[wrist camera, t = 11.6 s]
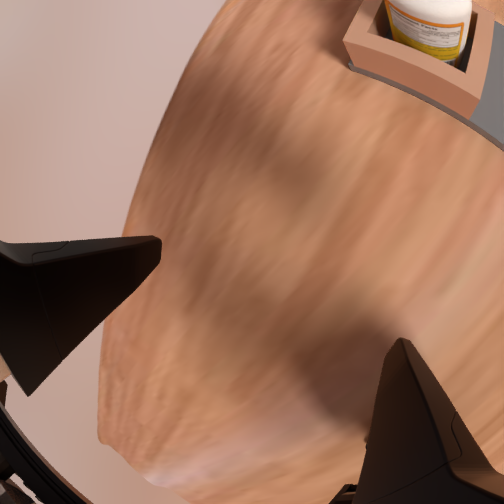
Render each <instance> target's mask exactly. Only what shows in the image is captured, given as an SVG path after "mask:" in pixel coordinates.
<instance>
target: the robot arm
mask: <svg viewBox="0 0 504 504" xmlns="http://www.w3.org/2000/svg"><path fill="white" fill-rule="evenodd" d="M161 250H162V241H161V239H159V238H157V237H155V236H152V235H150V236H133V237H117V238H103V239H88V240H76V241H70V242H69V241H61V242H46V243H6V242H2V241H0V504H36V503H35V502H34V501H33V500H32V498H30V497H29V496H28V495H26V494H25V493H24V492H23V491H22V489H21V488H20V487H19V486H17V484H15V483H14V482H13V481H12V480H11V479H10V477H11V476H12V475H13V474H14V473H15V474H16V475H18V476H19V477H20V478H21V479H22V480H23V481H24V482H23V484H24V485H25V486H26V487H27V488H28V489H30V490H31V491H33V493H35V495H36V496H35V497H36V498H37V499H38V500H39V501H40V502H42V503H44V504H93V503H92V502H91V501H89V500H88V499H87V498H86V497H85V496H83V495H82V494H81V493H80V492H79V491H78V490H77V489H75V488H74V487H73V486H72V485H71V484H70V483H69V482H68V481H67V480H66V479H65V478H63V477H62V476H61V475H60V474H59V473H58V472H57V471H56V470H55V469H54V468H53V467H52V466H51V465H50V464H49V463H48V461H47V460H46V459H45V458H44V457H43V456H42V455H41V454H40V453H39V452H38V450H37V449H36V448H35V447H34V446H33V445H32V443H31V442H30V441H29V440H28V439H27V437H26V436H25V435H24V434H23V432H22V431H21V430H20V428H19V427H18V426H17V424H16V423H15V422H14V420H13V419H12V418H11V416H10V415H9V413H8V412H7V411H6V409H5V400H6V392H7V383H6V382H5V380H4V379H6V378H7V377H8V376H9V375H12V376H13V378H14V379H15V381H16V382H17V383H18V385H19V386H20V388H21V389H22V390H23V391H24V393H25V394H26V395H27V397H28V396H30V395H31V394H32V393H33V392H34V391H35V390H36V389H37V388H38V387H39V386H40V384H41V383H42V382H43V381H44V380H45V379H46V378H47V377H48V376H49V375H50V374H51V373H52V372H53V370H54V369H55V368H56V367H57V366H58V365H59V364H60V363H61V362H62V360H64V359H65V358H66V357H67V356H68V355H69V354H70V353H71V352H72V351H73V350H74V349H75V347H77V346H78V345H79V344H80V342H82V341H83V340H84V339H85V338H86V337H87V336H88V335H89V334H90V333H91V332H92V331H93V330H94V329H95V328H96V327H97V326H98V325H99V324H100V323H101V322H102V321H103V320H104V319H105V318H106V317H107V316H108V315H109V314H110V313H112V312H113V311H114V310H115V309H116V308H117V307H118V306H119V305H120V304H121V303H122V302H123V301H124V300H125V299H126V298H128V297H129V296H130V295H131V294H132V293H133V292H134V291H135V290H136V289H137V288H138V287H139V286H140V285H141V283H142V282H143V281H144V280H145V279H146V278H147V277H148V276H149V274H150V273H151V272H152V271H153V270H154V269H155V268H156V267H157V266H158V264H159V263H160V260H161ZM365 448H366V454H365V458H364V462H363V466H362V470H361V474H360V478H359V482H358V484H356V485H353V484H345V485H344V486H343V488H342V489H341V490H340V491H339V492H338V493H337V495H336V496H335V497H334V498H333V499H332V500H331V502H330V503H329V504H504V475H502V474H500V473H498V472H497V471H496V470H495V469H494V468H493V467H492V466H491V464H490V463H489V461H488V460H487V458H486V457H485V455H484V453H483V452H482V450H481V449H480V447H479V446H478V444H477V443H476V441H475V440H474V438H473V437H472V435H471V433H470V432H469V430H468V429H467V427H466V425H465V424H464V422H463V421H462V419H461V417H460V416H459V414H458V412H457V411H456V409H455V407H454V406H453V404H452V402H451V401H450V399H449V398H448V396H447V394H446V393H445V391H444V390H443V388H442V387H441V385H440V384H439V382H438V381H437V379H436V377H435V376H434V374H433V373H432V371H431V370H430V369H429V367H428V366H427V364H426V363H425V361H424V360H423V358H422V357H421V355H420V354H419V353H418V351H417V350H416V348H415V347H414V345H413V344H412V343H411V341H410V340H408V339H405V338H402V337H400V338H398V339H397V340H396V342H395V343H394V344H393V346H392V347H391V349H390V350H389V352H388V353H387V355H386V356H385V359H384V363H383V368H382V373H381V377H380V381H379V386H378V390H377V394H376V399H375V405H374V412H373V418H372V424H371V429H370V435H369V440H368V442H367V444H366V447H365Z"/></svg>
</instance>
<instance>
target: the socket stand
mask: <svg viewBox="0 0 504 504" xmlns="http://www.w3.org/2000/svg"><path fill="white" fill-rule="evenodd" d="M494 20H495V13H494V12H492V11H490V10H489V9H487V8H485V7H483V6H481V5H479V4H477V3H475V2H473V1H472V13H471V19H470V25H469V30H468V35H467V40H466V45H465V50H464V54H463V58H462V61H461V64H460V66H459V67H458V68H457V69H456V68H454V67H453V66H451V65H449V64H447V63H445V62H443V61H441V60H438V59H436V58H434V57H432V56H430V55H428V54H425V53H423V52H421V51H418V50H416V49H413V48H411V47H408V46H406V45H403V44H400V43H398V42H395V41H393V37H392V32H391V27H390V22H389V17H388V13H387V9H386V5H385V1H384V0H363V2H362V3H361V5H360V7H359V9H358V11H357V13H356V15H355V17H354V19H353V21H352V23H351V25H350V27H349V28H348V30H347V32H346V34H345V36H344V38H343V40H342V41H343V43H344V45H345V47H346V49H347V51H348V53H349V55H350V58H351V59H350V61H349V63H348V65H349V67H350V69H351V70H352V71H355V72H358V73H360V74H363V75H366V76H369V77H371V78H374V79H377V80H379V81H382V82H384V83H387V84H389V85H391V86H394V87H396V88H398V89H400V90H403V91H405V92H407V93H409V94H411V95H413V96H415V97H418V98H420V99H422V100H424V101H426V102H427V103H429V104H431V105H433V106H435V107H437V108H439V109H440V110H442V111H444V112H446V113H448V114H449V115H451V116H453V117H454V118H456V119H458V120H459V121H461V122H463V123H464V124H466V125H467V126H469V127H470V128H472V129H473V130H475V131H476V132H478V133H479V134H481V135H482V136H484V137H485V138H487V139H488V140H489V141H491V142H492V143H493V144H495V145H496V146H497V147H499V148H500V149H501V150H503V151H504V26H503V25H501V24H499V23H498V22H496V21H494Z"/></svg>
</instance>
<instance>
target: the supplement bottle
mask: <svg viewBox="0 0 504 504" xmlns="http://www.w3.org/2000/svg"><path fill="white" fill-rule="evenodd" d="M384 1H385V5H386V9H387V13H388V17H389V22H390V27H391V32H392V37H393V41H395V42H398V43H400V44H403V45H406V46H408V47H411V48H413V49H416V50H418V51H421V52H423V53H425V54H428V55H430V56H432V57H434V58H436V59H438V60H441V61H443V62H445V63H447V64H449V65H451V66H453V67H454V68H456V69H457V68H458V67H459V66H460V64H461V61H462V58H463V54H464V50H465V45H466V40H467V35H468V30H469V25H470V19H471V13H472V1H471V0H384Z"/></svg>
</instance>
